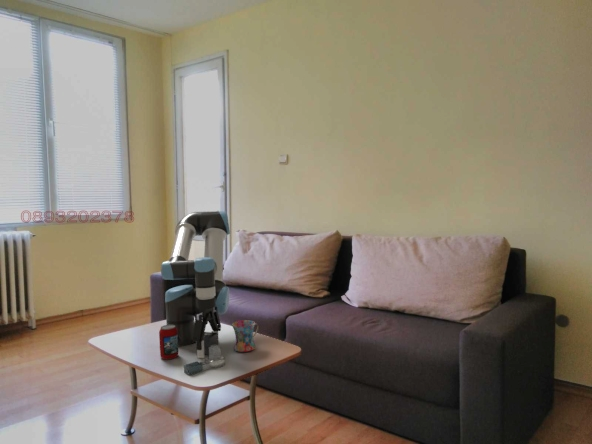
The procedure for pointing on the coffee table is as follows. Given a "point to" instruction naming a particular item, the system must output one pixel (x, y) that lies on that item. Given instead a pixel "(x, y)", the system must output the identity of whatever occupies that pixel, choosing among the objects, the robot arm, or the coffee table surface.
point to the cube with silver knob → (209, 341)
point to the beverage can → (168, 342)
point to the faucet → (206, 362)
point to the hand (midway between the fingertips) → (208, 352)
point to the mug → (244, 335)
